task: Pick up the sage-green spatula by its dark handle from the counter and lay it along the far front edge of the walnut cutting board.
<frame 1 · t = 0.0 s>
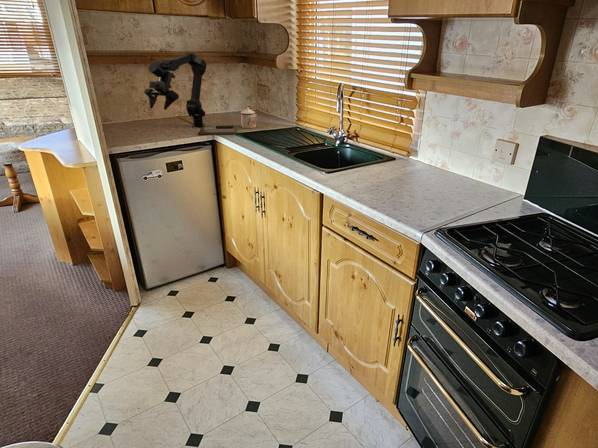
hand: (157, 108, 217), 15 cm above the worktop, tool tilted 35°, fingers open, 9 cm apart
teacup with lid: (250, 127, 251), on the worktop
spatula: (218, 129, 243), on the worktop
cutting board: (217, 133, 233), on the worktop
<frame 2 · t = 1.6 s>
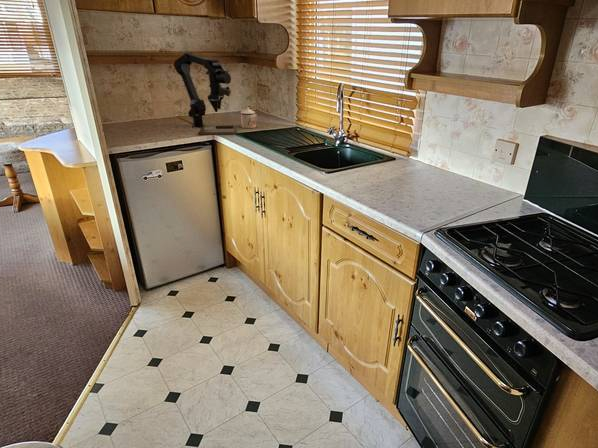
hand: (218, 110, 238), 11 cm above the worktop, tool pointing down, fingers open, 9 cm apart
nothing on the worktop moved.
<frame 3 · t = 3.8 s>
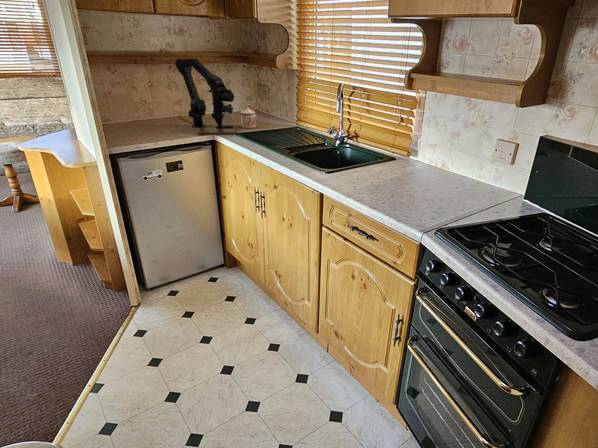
hand: (220, 127, 243), 1 cm above the worktop, tool pointing down, fingers closed on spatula, 2 cm apart
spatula: (218, 129, 243), on the worktop, touching gripper
everything else where it was.
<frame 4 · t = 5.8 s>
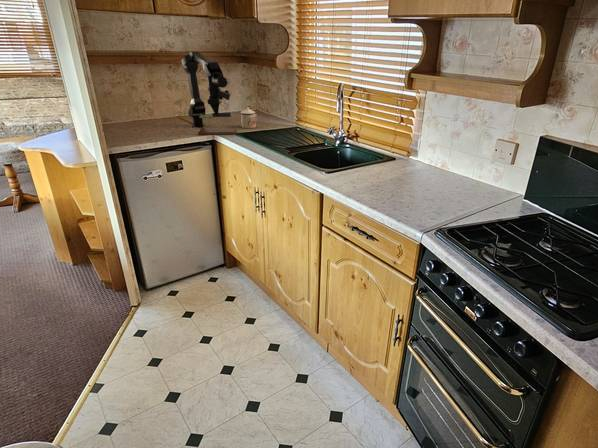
hand: (217, 114, 230), 10 cm above the worktop, tool pointing down, fingers closed on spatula
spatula: (214, 116, 230), point 9 cm above the worktop, touching gripper
everything else where it was.
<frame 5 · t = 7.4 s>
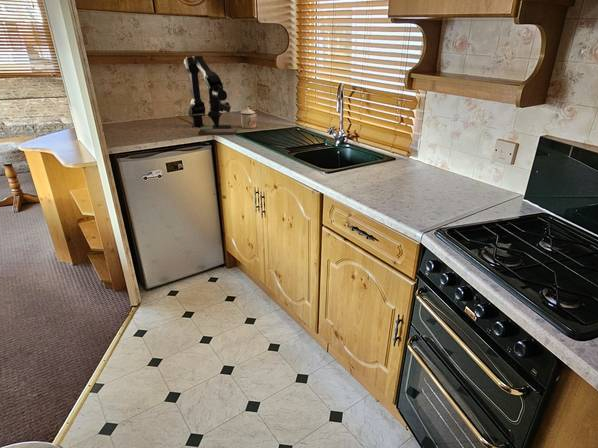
hand: (217, 126, 230), 4 cm above the worktop, tool pointing down, fingers closed on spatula, 2 cm apart
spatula: (215, 128, 231), point 3 cm above the worktop, touching gripper
everything else where it was.
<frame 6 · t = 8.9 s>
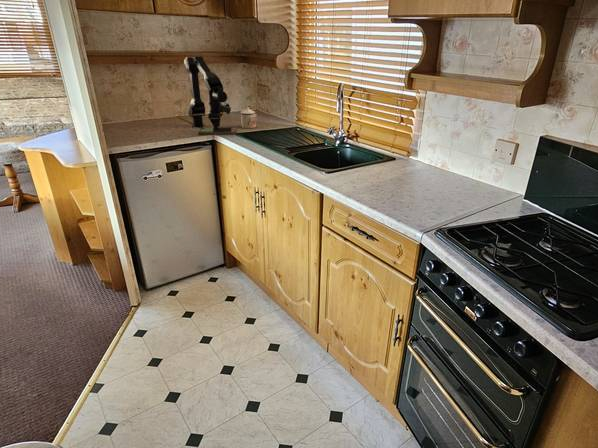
hand: (217, 128, 231), 3 cm above the worktop, tool pointing down, fingers open, 9 cm apart
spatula: (215, 131, 231), point 1 cm above the worktop, touching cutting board
everything else where it was.
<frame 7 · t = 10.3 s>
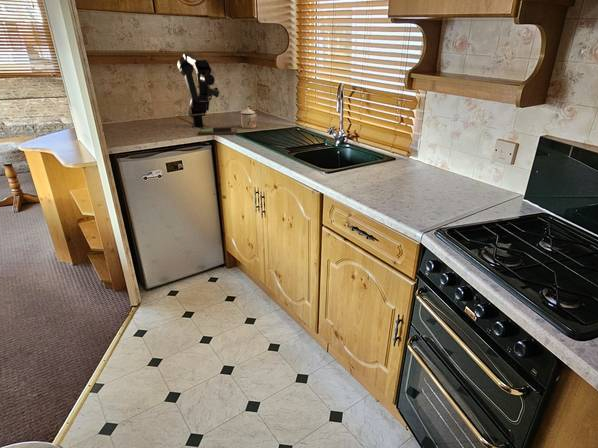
hand: (206, 111, 234), 11 cm above the worktop, tool pointing down, fingers open, 9 cm apart
nothing on the worktop moved.
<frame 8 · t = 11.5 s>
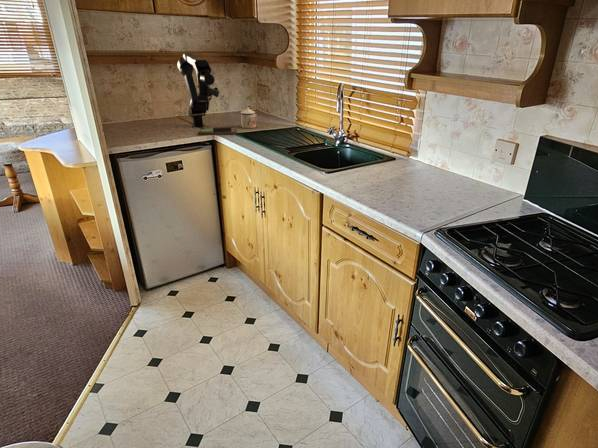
hand: (206, 111, 234), 11 cm above the worktop, tool pointing down, fingers open, 9 cm apart
nothing on the worktop moved.
at the end: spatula inside the target area on the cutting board (0.8 cm from its centre), point 1.5 cm above the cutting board's base; the gripper is holding nothing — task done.
